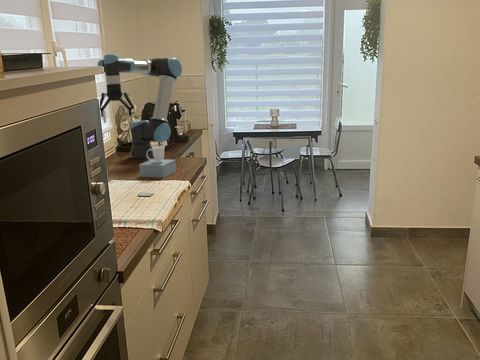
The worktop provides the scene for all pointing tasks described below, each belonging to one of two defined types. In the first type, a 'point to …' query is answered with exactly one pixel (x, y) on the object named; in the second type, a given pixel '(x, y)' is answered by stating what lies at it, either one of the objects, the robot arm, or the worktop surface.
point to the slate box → (157, 168)
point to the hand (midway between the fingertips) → (117, 122)
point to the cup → (157, 153)
